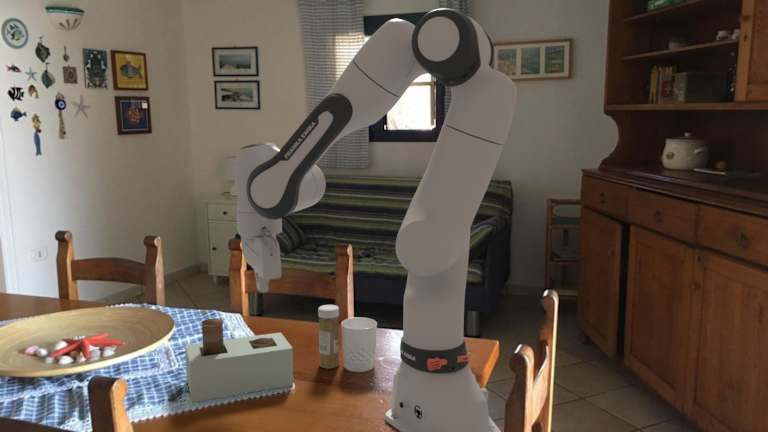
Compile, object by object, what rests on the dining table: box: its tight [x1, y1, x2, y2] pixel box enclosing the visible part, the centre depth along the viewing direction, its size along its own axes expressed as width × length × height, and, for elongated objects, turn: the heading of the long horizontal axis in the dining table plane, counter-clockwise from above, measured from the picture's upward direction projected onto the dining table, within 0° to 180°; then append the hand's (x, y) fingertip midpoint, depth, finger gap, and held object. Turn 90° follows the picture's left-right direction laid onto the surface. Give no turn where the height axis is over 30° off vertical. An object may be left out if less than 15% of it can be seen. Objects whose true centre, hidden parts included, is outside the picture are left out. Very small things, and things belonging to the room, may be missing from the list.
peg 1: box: [201, 317, 224, 356], centre depth 122 cm, size 4×4×7 cm
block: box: [184, 331, 294, 403], centre depth 125 cm, size 10×20×8 cm, turn 113°
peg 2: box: [253, 338, 273, 349], centre depth 127 cm, size 4×4×7 cm
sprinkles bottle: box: [317, 304, 340, 369], centre depth 134 cm, size 5×5×14 cm
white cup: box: [340, 316, 378, 373], centre depth 134 cm, size 8×8×10 cm
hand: (262, 290), depth 124 cm, fingers closed
